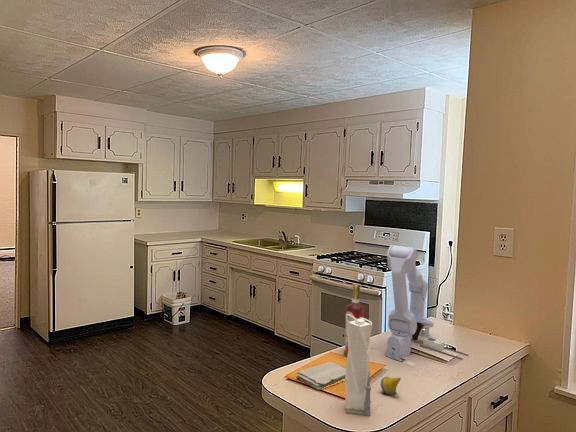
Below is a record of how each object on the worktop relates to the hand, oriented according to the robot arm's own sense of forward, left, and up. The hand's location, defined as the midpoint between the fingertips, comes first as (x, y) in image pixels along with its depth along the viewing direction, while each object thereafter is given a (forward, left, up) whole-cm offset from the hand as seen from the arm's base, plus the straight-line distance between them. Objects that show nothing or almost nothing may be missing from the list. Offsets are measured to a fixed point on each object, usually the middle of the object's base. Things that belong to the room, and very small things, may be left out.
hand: (415, 339), depth 181 cm
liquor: (-30, +10, -2) cm, 32 cm away
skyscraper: (-61, -15, -2) cm, 63 cm away
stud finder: (0, -8, -1) cm, 8 cm away
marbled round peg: (+10, +2, -2) cm, 10 cm away
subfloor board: (+4, -14, -2) cm, 15 cm away
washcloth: (-53, +3, -3) cm, 53 cm away
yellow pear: (-45, -17, -2) cm, 48 cm away
